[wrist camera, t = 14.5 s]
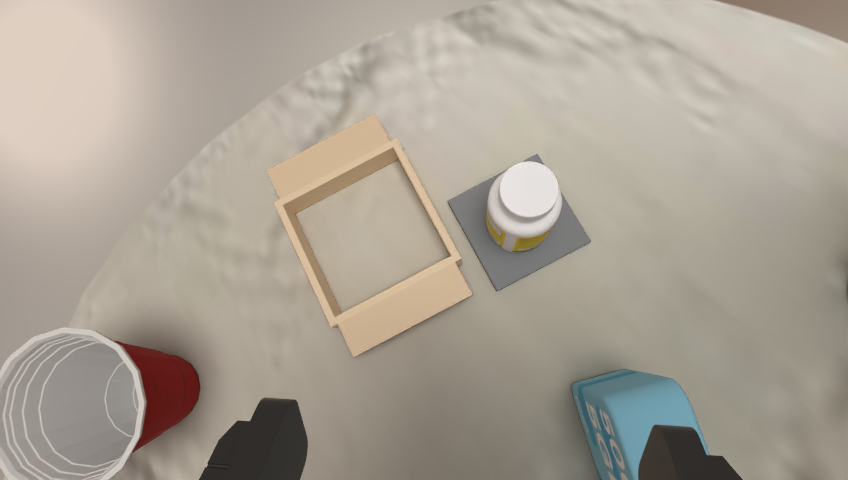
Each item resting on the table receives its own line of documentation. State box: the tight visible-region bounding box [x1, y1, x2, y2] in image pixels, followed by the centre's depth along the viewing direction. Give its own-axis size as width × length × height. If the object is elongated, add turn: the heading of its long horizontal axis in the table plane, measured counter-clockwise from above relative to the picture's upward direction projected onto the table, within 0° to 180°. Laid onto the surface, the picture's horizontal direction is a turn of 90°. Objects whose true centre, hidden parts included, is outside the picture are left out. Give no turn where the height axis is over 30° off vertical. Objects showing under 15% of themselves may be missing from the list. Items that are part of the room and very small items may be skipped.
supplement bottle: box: [486, 161, 562, 253], centre depth 38 cm, size 5×5×10 cm
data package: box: [572, 369, 710, 480], centre depth 33 cm, size 12×4×12 cm, turn 15°
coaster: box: [448, 154, 591, 291], centre depth 43 cm, size 9×9×1 cm
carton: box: [267, 114, 472, 357], centre depth 43 cm, size 12×18×3 cm, turn 27°
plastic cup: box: [0, 327, 200, 480], centre depth 37 cm, size 11×11×12 cm
